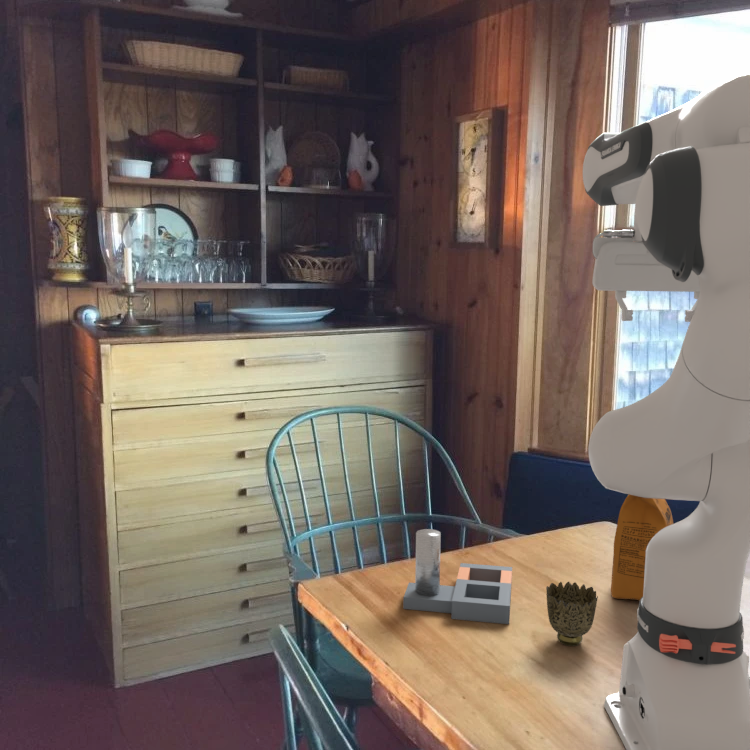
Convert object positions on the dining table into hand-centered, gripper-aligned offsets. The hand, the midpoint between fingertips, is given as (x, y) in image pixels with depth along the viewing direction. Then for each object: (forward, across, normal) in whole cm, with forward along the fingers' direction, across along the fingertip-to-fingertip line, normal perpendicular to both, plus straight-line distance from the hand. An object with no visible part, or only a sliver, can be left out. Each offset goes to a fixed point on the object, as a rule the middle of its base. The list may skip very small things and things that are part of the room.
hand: (658, 321), depth 123 cm
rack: (+47, -29, 0) cm, 55 cm away
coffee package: (+47, +1, +8) cm, 48 cm away
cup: (+47, -12, -13) cm, 51 cm away
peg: (+45, -35, -3) cm, 57 cm away
